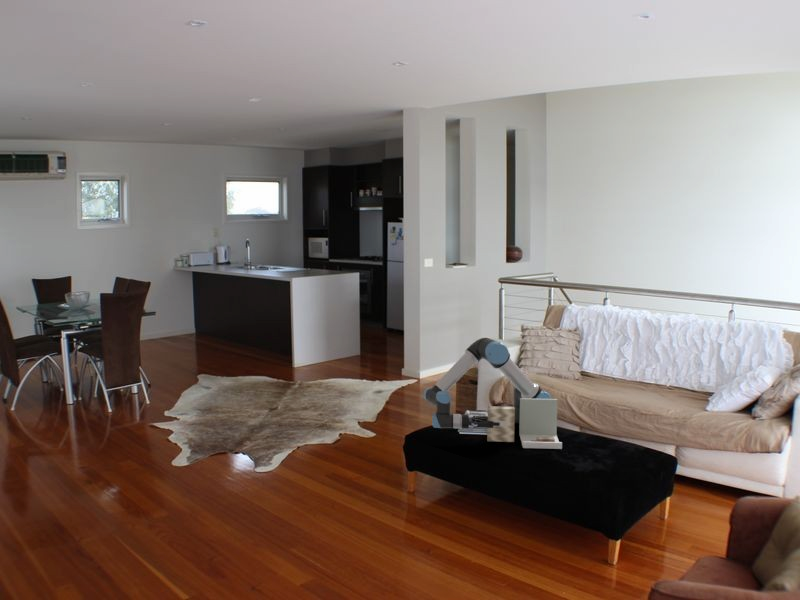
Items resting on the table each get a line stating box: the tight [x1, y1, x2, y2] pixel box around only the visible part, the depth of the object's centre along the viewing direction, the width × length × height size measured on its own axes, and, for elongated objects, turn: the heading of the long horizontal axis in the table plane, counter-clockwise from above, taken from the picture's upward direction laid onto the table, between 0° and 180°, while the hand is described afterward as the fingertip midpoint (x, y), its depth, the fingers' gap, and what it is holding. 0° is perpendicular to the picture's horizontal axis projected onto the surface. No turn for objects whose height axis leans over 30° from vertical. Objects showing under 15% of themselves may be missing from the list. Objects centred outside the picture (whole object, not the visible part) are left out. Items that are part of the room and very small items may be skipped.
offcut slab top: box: [536, 437, 555, 442], centre depth 374 cm, size 9×3×2 cm, turn 86°
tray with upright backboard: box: [518, 398, 563, 450], centre depth 380 cm, size 20×22×21 cm
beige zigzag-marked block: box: [486, 405, 516, 443], centre depth 380 cm, size 14×4×18 cm, turn 86°
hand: (505, 422), depth 380 cm, fingers open, 4 cm apart
